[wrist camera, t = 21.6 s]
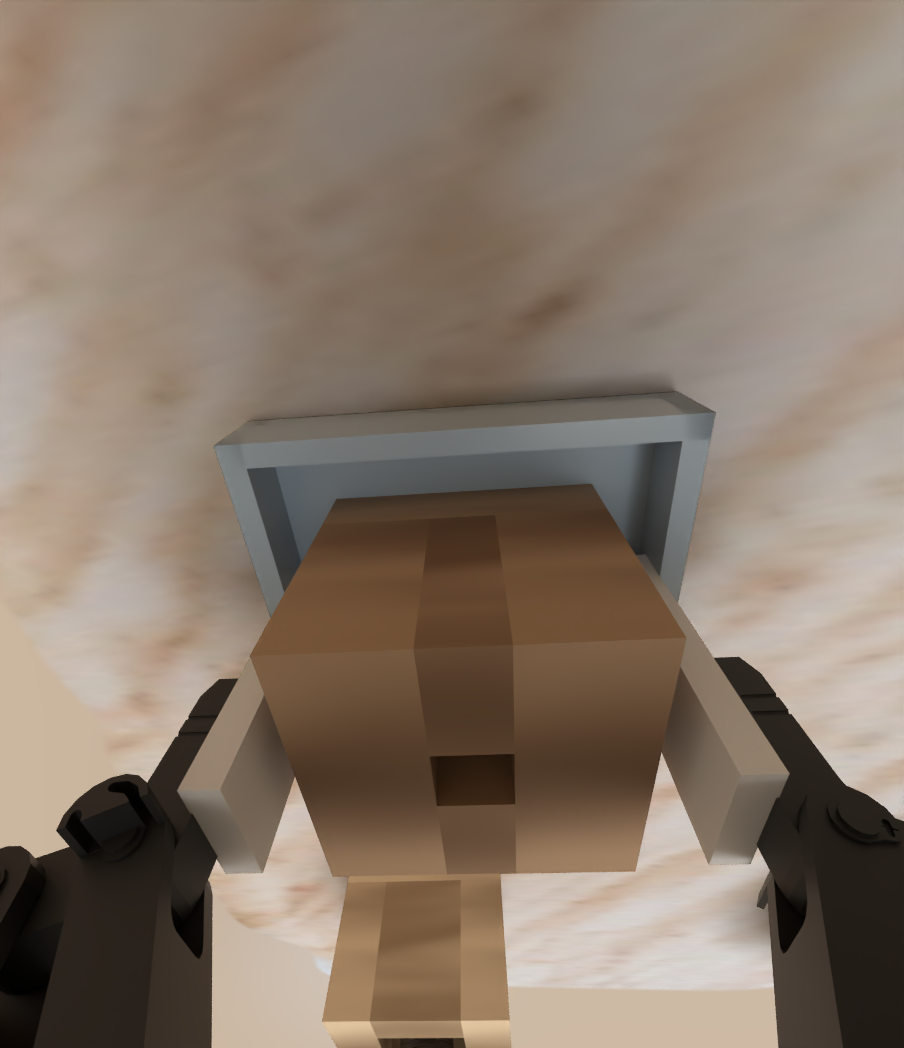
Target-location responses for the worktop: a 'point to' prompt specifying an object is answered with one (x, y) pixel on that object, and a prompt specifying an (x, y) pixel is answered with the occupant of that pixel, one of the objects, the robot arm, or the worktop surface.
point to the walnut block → (473, 684)
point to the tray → (471, 468)
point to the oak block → (420, 963)
